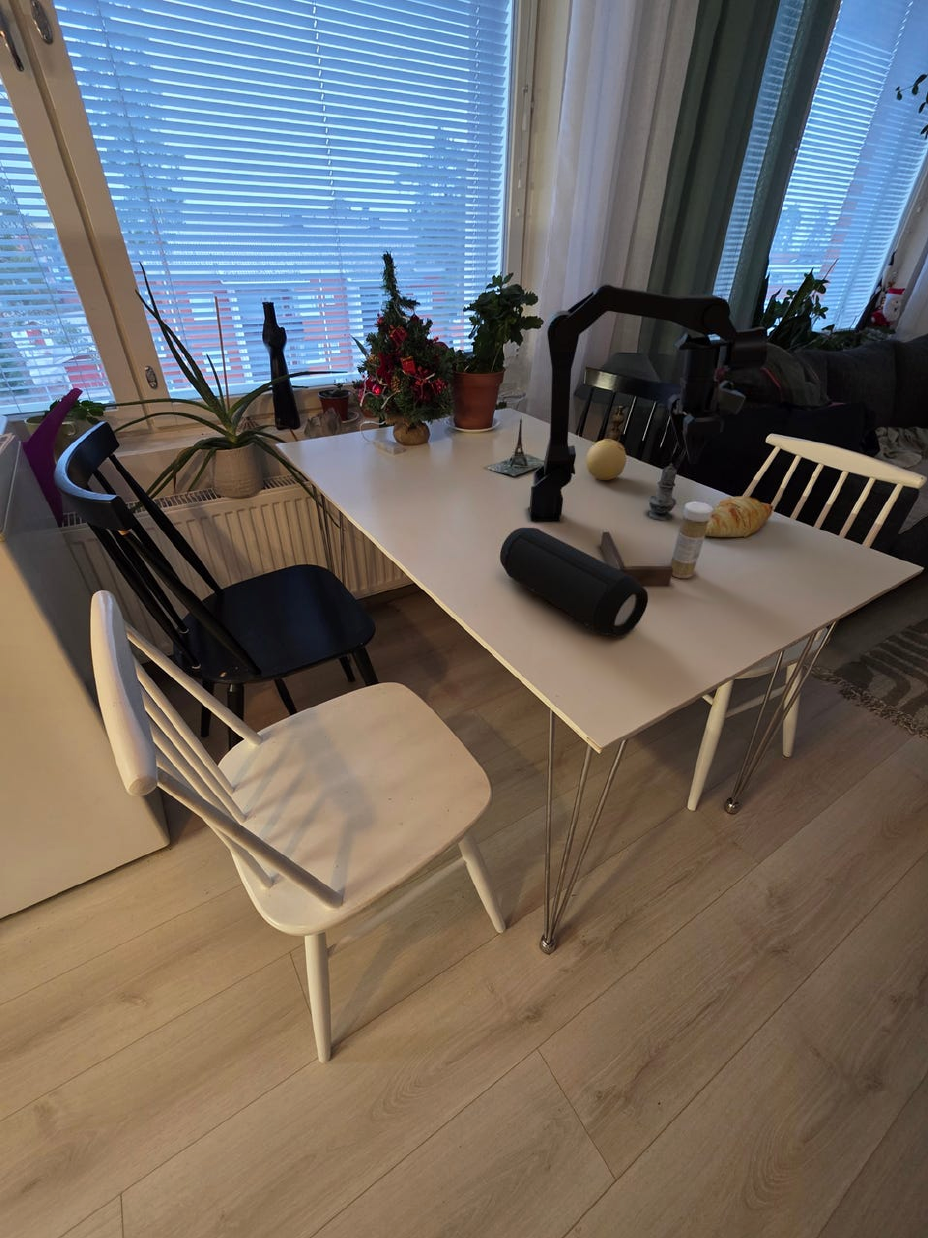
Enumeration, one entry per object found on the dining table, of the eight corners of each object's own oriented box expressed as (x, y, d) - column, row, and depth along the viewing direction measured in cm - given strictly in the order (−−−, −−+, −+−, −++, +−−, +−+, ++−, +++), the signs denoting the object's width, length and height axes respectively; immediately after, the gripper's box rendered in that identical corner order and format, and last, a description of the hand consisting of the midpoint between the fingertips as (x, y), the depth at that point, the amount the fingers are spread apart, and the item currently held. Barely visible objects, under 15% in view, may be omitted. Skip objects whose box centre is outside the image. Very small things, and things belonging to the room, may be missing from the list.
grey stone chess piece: (674, 522, 115) (688, 468, 108) (646, 519, 116) (658, 466, 109) (671, 510, 120) (684, 459, 113) (644, 508, 121) (655, 457, 114)
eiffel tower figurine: (514, 478, 136) (517, 425, 128) (486, 468, 142) (487, 417, 134) (551, 464, 144) (556, 414, 136) (523, 455, 150) (526, 406, 142)
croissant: (705, 558, 109) (730, 535, 102) (677, 521, 112) (700, 496, 106) (771, 533, 117) (799, 510, 110) (743, 499, 121) (768, 475, 114)
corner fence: (616, 586, 95) (620, 569, 92) (600, 547, 106) (602, 531, 104) (668, 586, 94) (673, 569, 92) (646, 547, 106) (650, 531, 104)
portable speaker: (644, 627, 84) (657, 574, 79) (603, 652, 80) (614, 597, 74) (534, 564, 101) (538, 516, 95) (494, 581, 96) (496, 531, 90)
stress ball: (623, 487, 131) (631, 447, 125) (583, 484, 133) (589, 445, 127) (621, 472, 139) (628, 434, 133) (583, 470, 141) (588, 432, 135)
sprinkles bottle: (680, 565, 100) (699, 498, 93) (698, 576, 97) (719, 508, 89) (662, 570, 99) (679, 503, 91) (680, 582, 96) (699, 513, 88)
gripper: (763, 381, 89) (744, 470, 98) (730, 360, 104) (716, 439, 113) (694, 386, 91) (681, 473, 100) (672, 365, 106) (662, 442, 115)
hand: (687, 456), depth 107 cm, fingers open, 9 cm apart
